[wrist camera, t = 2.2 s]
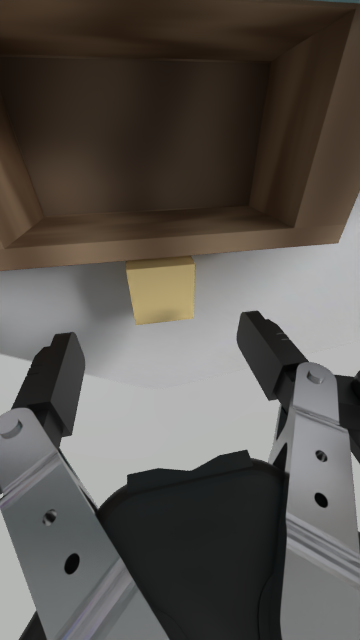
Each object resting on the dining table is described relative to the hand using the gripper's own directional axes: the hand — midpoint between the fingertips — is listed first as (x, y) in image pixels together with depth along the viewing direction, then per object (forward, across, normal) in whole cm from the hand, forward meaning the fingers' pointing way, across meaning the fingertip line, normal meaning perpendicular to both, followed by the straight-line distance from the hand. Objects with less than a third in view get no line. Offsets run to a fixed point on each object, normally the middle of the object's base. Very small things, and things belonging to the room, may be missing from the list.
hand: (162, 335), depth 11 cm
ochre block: (+9, -1, 0) cm, 9 cm away
